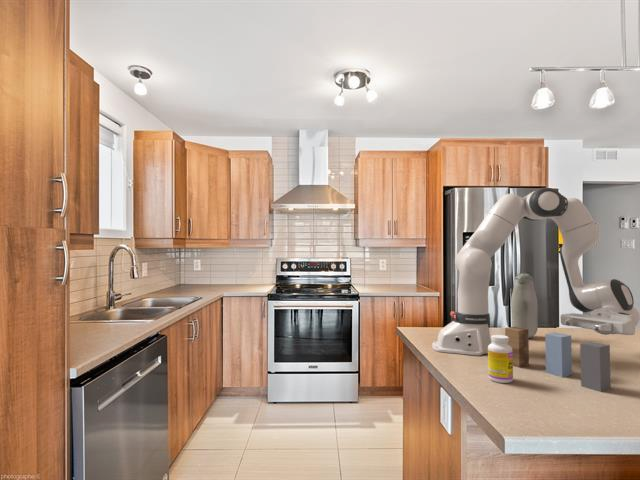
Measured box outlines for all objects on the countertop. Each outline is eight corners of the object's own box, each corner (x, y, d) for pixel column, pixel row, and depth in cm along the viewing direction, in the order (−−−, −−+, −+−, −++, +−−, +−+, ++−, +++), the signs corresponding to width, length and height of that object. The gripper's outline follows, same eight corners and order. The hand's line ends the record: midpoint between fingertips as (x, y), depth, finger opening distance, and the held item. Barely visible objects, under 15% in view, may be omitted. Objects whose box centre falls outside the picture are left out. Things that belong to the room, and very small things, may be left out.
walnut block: (519, 367, 125) (518, 330, 125) (505, 363, 129) (505, 328, 130) (529, 365, 127) (528, 329, 127) (515, 361, 132) (514, 326, 132)
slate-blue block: (562, 377, 115) (561, 337, 116) (545, 372, 120) (545, 334, 120) (571, 374, 118) (571, 335, 118) (555, 370, 122) (554, 332, 122)
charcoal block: (600, 391, 103) (599, 347, 104) (581, 386, 108) (580, 343, 108) (610, 388, 106) (609, 345, 106) (591, 383, 110) (590, 341, 110)
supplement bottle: (511, 385, 109) (511, 340, 109) (486, 381, 112) (485, 337, 113) (514, 378, 114) (513, 335, 115) (490, 374, 118) (489, 333, 118)
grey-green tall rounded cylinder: (508, 334, 172) (507, 272, 173) (532, 335, 171) (531, 272, 172) (516, 340, 162) (515, 274, 163) (542, 340, 161) (540, 274, 162)
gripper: (572, 308, 140) (549, 311, 134) (639, 315, 122) (616, 320, 116) (573, 325, 140) (550, 329, 134) (640, 335, 122) (617, 341, 116)
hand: (581, 325), depth 125 cm, fingers open, 8 cm apart
